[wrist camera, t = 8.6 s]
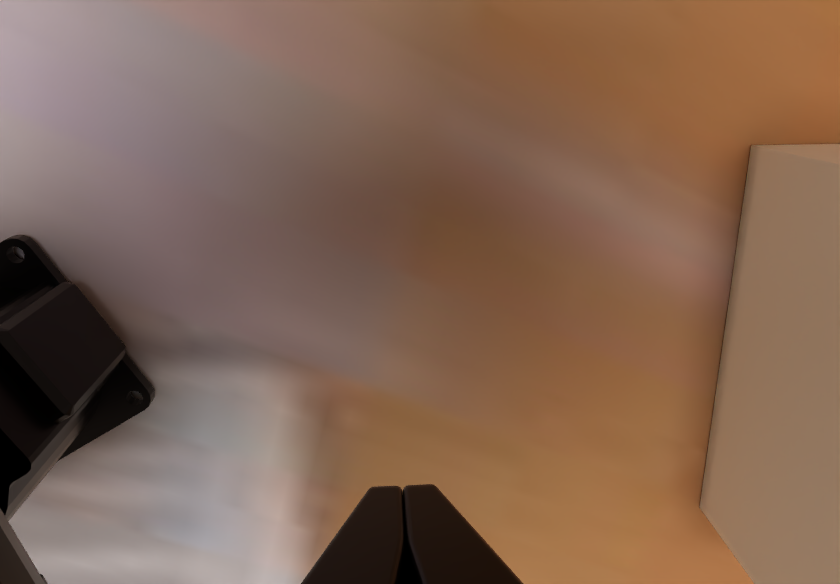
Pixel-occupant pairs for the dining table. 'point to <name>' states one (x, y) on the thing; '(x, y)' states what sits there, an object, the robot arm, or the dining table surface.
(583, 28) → the dining table surface
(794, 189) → the carton
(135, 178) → the dining table surface
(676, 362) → the dining table surface
